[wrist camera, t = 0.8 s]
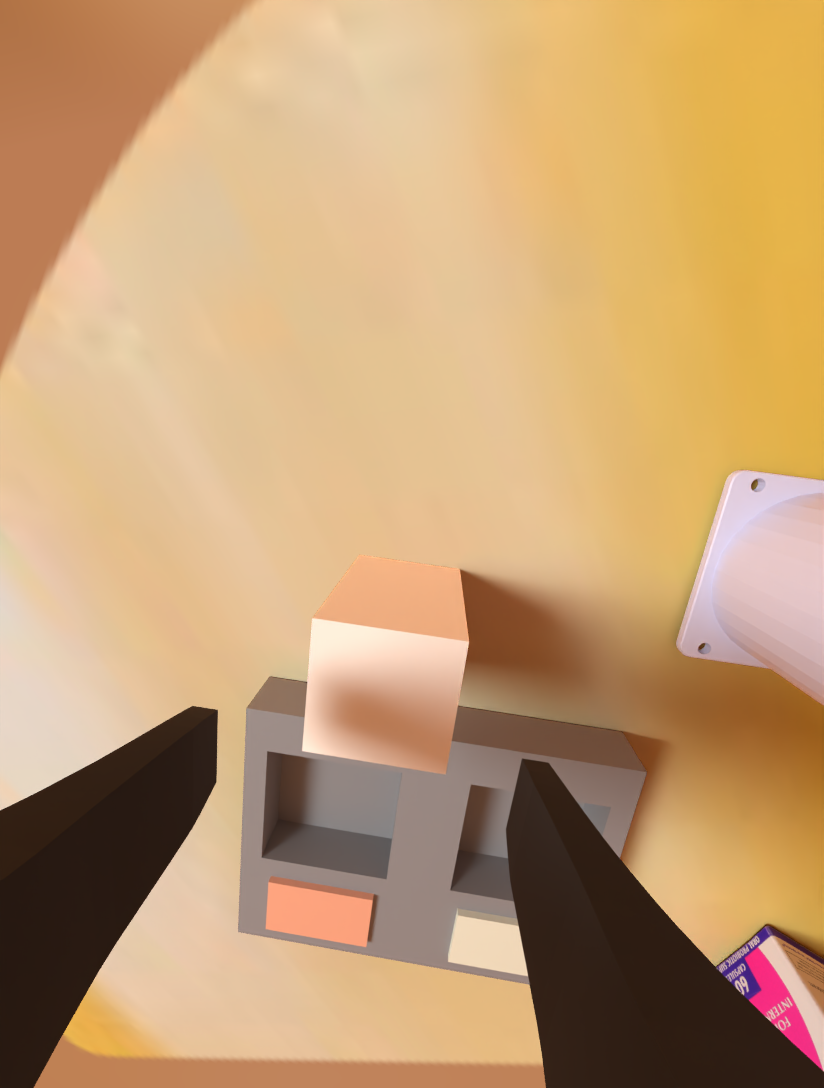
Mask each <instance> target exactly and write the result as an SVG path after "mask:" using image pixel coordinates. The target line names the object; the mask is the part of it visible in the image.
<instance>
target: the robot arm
mask: <svg viewBox="0 0 824 1088" xmlns="http://www.w3.org/2000/svg"><path fill="white" fill-rule="evenodd" d="M755 479H757V481H758V486H757V487H756V489H754V490H753V491H752V489H751V484H752V482H753V481H754V480H755ZM702 643H705V646H704V648H702V649H701V650H698V647H699V646H700V645H701V644H702ZM676 647H677V649H678V650H679V651H680V652H681V653H682V654H683V655H685V656H688V657H694V658H700V659H707V660H714V661H720V662H727V663H734V664H741V665H747V666H754V667H761V668H767V669H771V670H773V671H774V672H776V673H777V674H779V675H780V676H782V677H783V678H784V679H786V680H787V681H789V682H790V683H792V684H793V685H794V686H796V687H797V688H799V689H800V690H802V691H803V692H804V693H806V694H807V695H809V696H810V697H812V698H813V699H814V700H816V701H817V702H819V703H820V704H822V705H823V706H824V480H817V479H809V478H802V477H794V476H787V475H779V474H771V473H764V472H756V471H749V470H737V471H735V472H732V473H731V474H730V475H729V476H728V478H727V480H726V482H725V486H724V489H723V492H722V495H721V499H720V502H719V505H718V508H717V512H716V515H715V518H714V521H713V525H712V528H711V531H710V534H709V537H708V541H707V544H706V547H705V550H704V554H703V557H702V560H701V563H700V567H699V570H698V573H697V576H696V580H695V583H694V586H693V589H692V592H691V596H690V599H689V602H688V605H687V609H686V612H685V615H684V618H683V622H682V625H681V628H680V631H679V635H678V638H677V641H676ZM217 721H218V710H215V709H208V708H202V707H196V706H192V707H190V708H188V709H186V710H184V711H183V712H181V713H179V714H177V715H176V716H174V717H172V718H170V719H169V720H167V721H165V722H163V723H162V724H160V725H158V726H157V727H155V728H153V729H151V730H150V731H148V732H146V733H145V734H143V735H141V736H139V737H138V738H136V739H134V740H133V741H131V742H129V743H127V744H126V745H124V746H122V747H120V748H119V749H117V750H115V751H113V752H112V753H110V754H108V755H106V756H105V757H103V758H101V759H99V760H98V761H96V762H94V763H92V764H90V765H88V766H86V767H84V768H83V769H81V770H79V771H77V772H75V773H73V774H71V775H69V776H67V777H66V778H64V779H62V780H60V781H58V782H56V783H54V784H52V785H51V786H49V787H47V788H45V789H43V790H41V791H39V792H37V793H35V794H33V795H31V796H29V797H27V798H25V799H23V800H21V801H19V802H17V803H15V804H13V805H11V806H9V807H7V808H5V809H3V810H0V1088H34V1086H35V1084H36V1082H37V1080H38V1078H39V1077H40V1075H41V1073H42V1071H43V1069H44V1067H45V1066H46V1064H47V1062H48V1060H49V1058H50V1056H51V1055H52V1053H53V1051H54V1049H55V1047H56V1046H57V1044H58V1042H59V1040H60V1038H61V1037H62V1035H63V1033H64V1031H65V1030H66V1028H67V1026H68V1024H69V1023H70V1021H71V1019H72V1017H73V1015H74V1014H75V1012H76V1010H77V1008H78V1007H79V1005H80V1003H81V1001H82V1000H83V998H84V996H85V994H86V993H87V991H88V989H89V987H90V986H91V984H92V982H93V980H94V978H95V977H96V975H97V973H98V972H99V970H100V968H101V967H102V965H103V963H104V962H105V960H106V959H107V957H108V955H109V954H110V952H111V951H112V949H113V947H114V946H115V944H116V943H117V941H118V940H119V938H120V937H121V935H122V934H123V932H124V931H125V929H126V928H127V926H128V925H129V923H130V922H131V920H132V919H133V917H134V916H135V914H136V913H137V911H138V910H139V908H140V907H141V905H142V904H143V902H144V901H145V899H146V898H147V896H148V895H149V893H150V892H151V890H152V889H153V887H154V886H155V884H156V883H157V881H158V880H159V878H160V877H161V875H162V874H163V872H164V871H165V869H166V868H167V866H168V865H169V863H170V862H171V860H172V858H173V857H174V855H175V854H176V852H177V851H178V849H179V848H180V846H181V845H182V843H183V842H184V840H185V839H186V837H187V836H188V834H189V832H190V831H191V829H192V828H193V826H194V824H195V822H196V820H197V818H198V817H199V815H200V813H201V811H202V809H203V807H204V805H205V803H206V801H207V799H208V797H209V795H210V793H211V791H212V789H213V787H214V786H215V784H216V774H217ZM506 839H507V852H508V863H509V874H510V883H511V888H512V894H513V899H514V905H515V910H516V915H517V921H518V926H519V931H520V936H521V942H522V947H523V952H524V957H525V962H526V968H527V973H528V978H529V983H530V988H531V994H532V999H533V1004H534V1009H535V1014H536V1020H537V1026H538V1032H539V1039H540V1045H541V1051H542V1058H543V1067H544V1075H545V1083H546V1088H824V1071H823V1070H822V1069H821V1068H820V1067H818V1066H817V1065H816V1064H815V1063H814V1062H813V1061H812V1060H811V1059H810V1058H809V1057H808V1056H806V1055H805V1054H804V1053H803V1052H802V1051H801V1050H800V1049H799V1048H798V1047H797V1046H796V1045H795V1044H793V1043H792V1042H791V1041H790V1040H789V1039H788V1038H787V1037H786V1036H785V1035H784V1034H783V1033H782V1032H781V1031H780V1030H779V1029H778V1028H777V1027H776V1026H775V1025H774V1024H773V1023H772V1022H771V1021H770V1020H769V1019H767V1018H766V1017H765V1016H764V1015H763V1014H762V1013H761V1012H760V1011H759V1010H758V1009H757V1008H756V1007H755V1006H754V1005H753V1004H752V1003H751V1002H750V1001H749V1000H748V999H747V998H746V997H745V996H744V995H743V994H742V993H741V992H740V991H739V990H738V989H737V988H736V987H735V986H734V985H733V984H732V983H731V982H730V981H729V980H728V979H727V978H726V977H725V976H724V975H723V974H722V973H721V972H720V971H719V970H718V969H717V968H716V967H715V966H714V965H713V964H712V963H711V962H710V961H709V960H708V959H707V957H706V956H705V955H704V954H703V953H702V952H701V951H700V950H699V949H698V948H697V947H696V946H695V945H694V944H693V943H692V941H691V940H690V939H689V938H688V937H687V936H686V935H685V934H684V933H683V932H682V931H681V930H680V929H679V928H678V926H677V925H676V924H675V923H674V922H673V921H672V920H671V919H670V918H669V916H668V915H667V914H666V913H665V912H664V911H663V910H662V909H661V907H660V906H659V905H658V904H657V903H656V902H655V900H654V899H653V898H652V897H651V896H650V894H649V893H648V892H647V891H646V890H645V889H644V887H643V886H642V885H641V884H640V883H639V881H638V880H637V879H636V878H635V877H634V875H633V874H632V873H631V872H630V871H629V869H628V868H627V867H626V866H625V864H624V863H623V862H622V861H621V859H620V858H619V857H618V856H617V854H616V853H615V852H614V851H613V849H612V848H611V847H610V845H609V844H608V843H607V842H606V840H605V839H604V838H603V836H602V835H601V834H600V832H599V831H598V830H597V828H596V827H595V826H594V824H593V823H592V822H591V820H590V819H589V818H588V816H587V815H586V814H585V812H584V811H583V810H582V808H581V807H580V805H579V804H578V803H577V801H576V800H575V798H574V797H573V796H572V794H571V793H570V792H569V790H568V789H567V787H566V786H565V785H564V783H563V782H562V780H561V779H560V778H559V776H558V775H557V773H556V772H555V771H554V769H553V768H552V767H551V765H550V764H549V763H548V762H542V761H536V760H529V759H523V758H522V760H521V765H520V769H519V774H518V778H517V782H516V787H515V791H514V796H513V800H512V804H511V809H510V813H509V817H508V822H507V826H506Z"/></svg>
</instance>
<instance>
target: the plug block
mask: <svg viewBox="0 0 824 1088" xmlns="http://www.w3.org/2000/svg"><path fill="white" fill-rule="evenodd" d="M468 646H469V636H468V629H467V621H466V613H465V605H464V598H463V590H462V582H461V574H460V569H455V568H448V567H442V566H435V565H428V564H421V563H414V562H407V561H400V560H393V559H386V558H379V557H372V556H365V555H359V556H358V557H357V558H356V560H355V561H354V563H353V564H352V565H351V567H350V568H349V569H348V571H347V572H346V573H345V575H344V576H343V577H342V579H341V580H340V581H339V583H338V584H337V585H336V587H335V588H334V590H333V591H332V592H331V594H330V595H329V596H328V598H327V599H326V600H325V602H324V603H323V604H322V606H321V607H320V608H319V610H318V611H317V612H316V614H315V615H314V617H313V618H312V629H311V642H310V655H309V668H308V681H307V694H306V707H305V720H304V733H303V746H302V751H305V752H311V753H317V754H323V755H329V756H335V757H341V758H347V759H353V760H360V761H366V762H372V763H378V764H384V765H390V766H396V767H402V768H408V769H414V770H421V771H427V772H433V773H439V774H445V775H446V770H447V764H448V759H449V753H450V747H451V742H452V736H453V730H454V725H455V719H456V713H457V708H458V702H459V696H460V691H461V685H462V680H463V674H464V668H465V663H466V657H467V651H468Z"/></svg>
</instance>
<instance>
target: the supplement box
mask: <svg viewBox="0 0 824 1088" xmlns="http://www.w3.org/2000/svg"><path fill="white" fill-rule="evenodd" d="M716 968H717V969H718V970H719V971H720V972H721V973H722V974H723V975H724V976H725V977H726V978H727V979H728V980H729V981H730V982H731V983H732V984H733V985H734V986H735V987H736V988H737V989H738V990H739V991H740V992H741V993H742V994H743V995H744V996H745V997H746V998H747V999H748V1000H749V1001H750V1002H751V1003H752V1004H753V1005H754V1006H755V1007H756V1008H757V1009H758V1010H759V1011H760V1012H761V1013H762V1014H763V1015H764V1016H765V1017H766V1018H767V1019H769V1020H770V1021H771V1022H772V1023H773V1024H774V1025H775V1026H776V1027H777V1028H778V1029H779V1030H780V1031H781V1032H782V1033H783V1034H784V1035H785V1036H786V1037H787V1038H788V1039H789V1040H790V1041H791V1042H792V1043H793V1044H795V1045H796V1046H797V1047H798V1048H799V1049H800V1050H801V1051H802V1052H803V1053H804V1054H805V1055H806V1056H808V1057H809V1058H810V1059H811V1060H812V1061H813V1062H814V1063H815V1064H816V1065H817V1066H818V1067H820V1068H821V1069H822V1070H823V1071H824V959H823V958H821V957H820V956H818V955H816V954H815V953H813V952H811V951H810V950H808V949H807V948H805V947H804V946H801V945H800V944H798V943H797V942H795V941H794V940H792V939H791V938H789V937H788V936H786V935H784V934H782V933H781V932H779V931H777V930H776V929H774V928H772V927H771V926H765V927H764V928H763V929H762V930H761V931H760V932H758V933H757V934H756V935H755V936H754V937H753V938H752V939H751V940H750V941H749V942H748V943H746V944H745V945H744V946H743V947H741V948H740V949H739V950H737V951H736V952H735V953H734V954H732V955H731V956H730V957H729V958H727V959H726V960H725V961H723V962H722V963H721V964H720V965H718V966H717V967H716Z"/></svg>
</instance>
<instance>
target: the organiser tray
mask: <svg viewBox="0 0 824 1088" xmlns="http://www.w3.org/2000/svg"><path fill="white" fill-rule="evenodd" d="M306 694H307V682H300V681H294V680H288V679H281V678H275V677H269V678H268V680H267V681H266V682H265V684H264V685H263V686H262V688H261V689H260V690H259V692H258V693H257V695H256V696H255V697H254V699H253V700H252V701H251V703H250V704H249V705H248V707H247V709H246V736H245V762H244V789H243V815H242V842H241V869H240V895H239V922H238V932H241V933H247V934H252V935H258V936H263V937H269V938H274V939H280V940H285V941H291V942H296V943H302V944H307V945H313V946H319V947H324V948H330V949H335V950H341V951H346V952H352V953H357V954H363V955H368V956H374V957H380V958H385V959H391V960H396V961H402V962H407V963H413V964H418V965H424V966H429V967H435V968H441V969H446V970H452V971H457V972H463V973H468V974H474V975H479V976H485V977H490V978H496V979H501V980H507V981H513V982H518V983H524V984H529V985H530V983H529V978H528V973H527V968H526V962H525V957H524V952H523V947H522V942H521V936H520V931H519V926H518V921H517V915H516V910H515V905H514V899H513V894H512V888H511V883H510V874H509V863H508V852H507V839H506V826H507V822H508V817H509V813H510V809H511V804H512V800H513V796H514V791H515V787H516V782H517V778H518V774H519V769H520V765H521V760H522V758H523V759H529V760H536V761H542V762H548V763H549V764H550V765H551V767H552V768H553V769H554V771H555V772H556V773H557V775H558V776H559V778H560V779H561V780H562V782H563V783H564V785H565V786H566V787H567V789H568V790H569V792H570V793H571V794H572V796H573V797H574V798H575V800H576V801H577V803H578V804H579V805H580V807H581V808H582V810H583V811H584V812H585V814H586V815H587V816H588V818H589V819H590V820H591V822H592V823H593V824H594V826H595V827H596V828H597V830H598V831H599V832H600V834H601V835H602V836H603V838H604V839H605V840H606V842H607V843H608V844H609V845H610V847H611V848H612V849H613V851H614V852H615V853H616V854H617V856H618V857H619V858H620V856H621V853H622V850H623V847H624V844H625V840H626V837H627V834H628V831H629V828H630V825H631V821H632V818H633V815H634V812H635V809H636V806H637V802H638V799H639V796H640V793H641V790H642V787H643V784H644V780H645V777H646V774H647V771H646V770H645V768H644V766H643V765H642V763H641V761H640V760H639V758H638V757H637V755H636V753H635V752H634V750H633V748H632V747H631V745H630V744H629V742H628V740H627V739H626V737H625V735H624V734H623V732H620V731H613V730H607V729H601V728H594V727H588V726H582V725H575V724H569V723H562V722H556V721H550V720H543V719H537V718H530V717H524V716H518V715H511V714H505V713H498V712H492V711H486V710H479V709H473V708H467V707H460V706H458V708H457V713H456V719H455V725H454V730H453V736H452V742H451V747H450V753H449V759H448V764H447V770H446V775H445V774H439V773H433V772H427V771H421V770H414V769H408V768H402V767H396V766H390V765H384V764H378V763H372V762H366V761H360V760H353V759H347V758H341V757H335V756H329V755H323V754H317V753H311V752H305V751H302V746H303V733H304V720H305V707H306Z"/></svg>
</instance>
